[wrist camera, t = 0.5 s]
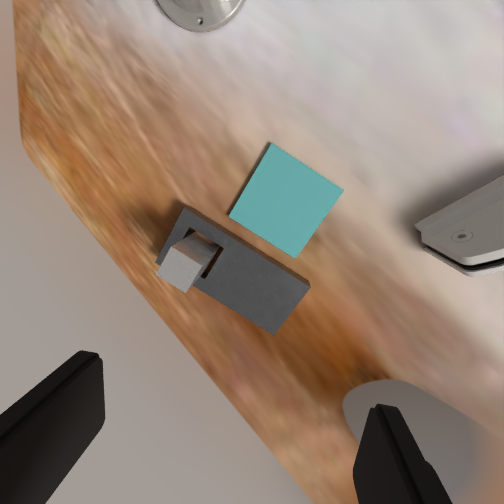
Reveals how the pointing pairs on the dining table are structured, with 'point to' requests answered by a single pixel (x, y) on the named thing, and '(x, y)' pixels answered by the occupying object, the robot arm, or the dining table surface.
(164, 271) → the steel block
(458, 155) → the dining table surface
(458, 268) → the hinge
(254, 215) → the mat
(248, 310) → the slotted plate
